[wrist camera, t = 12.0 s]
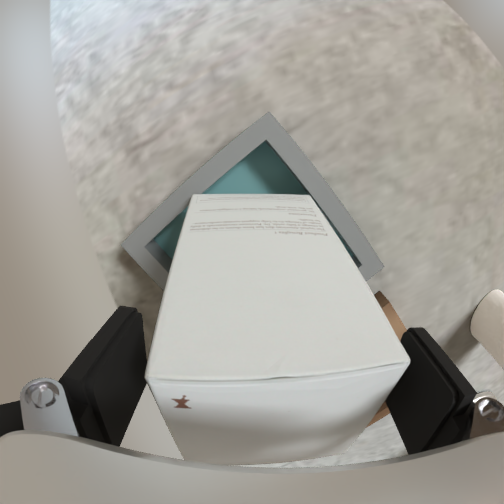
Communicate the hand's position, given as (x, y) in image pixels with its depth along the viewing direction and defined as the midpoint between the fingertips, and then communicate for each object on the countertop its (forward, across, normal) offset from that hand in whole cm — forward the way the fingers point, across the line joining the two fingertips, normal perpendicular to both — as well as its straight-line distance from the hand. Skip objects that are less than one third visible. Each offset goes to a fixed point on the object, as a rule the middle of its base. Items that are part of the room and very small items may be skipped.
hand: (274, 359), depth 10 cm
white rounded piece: (+13, -24, +5) cm, 28 cm away
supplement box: (+10, +1, -1) cm, 11 cm away
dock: (+12, +1, -1) cm, 12 cm away
